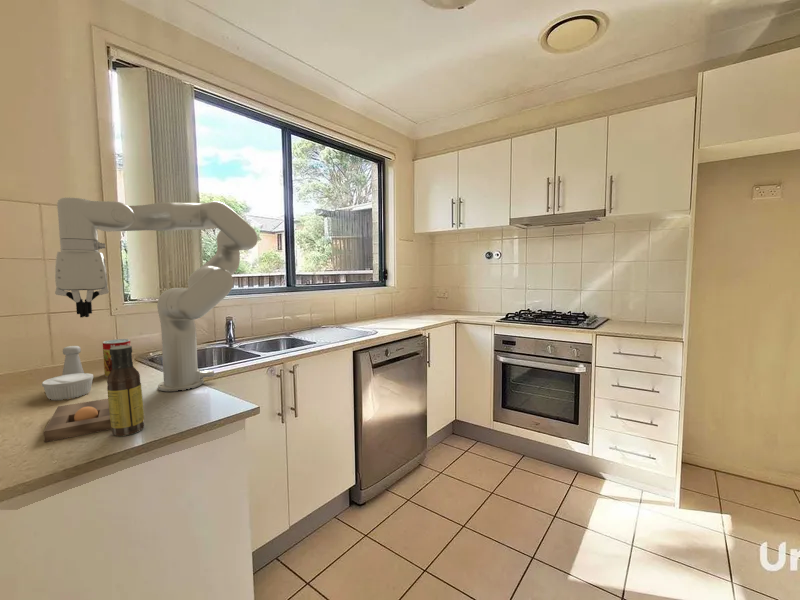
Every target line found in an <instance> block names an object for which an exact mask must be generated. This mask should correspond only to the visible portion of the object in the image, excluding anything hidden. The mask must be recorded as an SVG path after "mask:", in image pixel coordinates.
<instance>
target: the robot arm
mask: <svg viewBox="0 0 800 600" xmlns="http://www.w3.org/2000/svg"><path fill="white" fill-rule="evenodd" d="M56 203H57V204H56V206H57V208H56V209H57V219H58V220H57V221H58V235H59V245H60V251H57V253H56V256H55V257H56V258H55V268H54V273H55V275H54V279H55V281H54V282H55V287H56V288H55V291H54V294H55V295H56V296H62V297H67V298H69V299H71V300H72V301H74V303H75V307H76V308H75V309H76V315H79V317H80V318H89V317H90V314H91V315H92V314H93V305H92V304H93V303H92V301H94V300H95V299H96V298H97V297H99V296H102V295H106V294H109V293H110V290H109V288H108V273H107V267H106V260H105V258H104V257H105V256H104V254H103V252H100V250H101V249H102V250H103V249H106V243H104V242H103V243H102V242H100V241H99V235H98V230H99V231H102V232H107V233H108V232H136V231H137V232H138V231H139V232H140V231H158V232H160V231H161V232H163V231H164V232H165V231H167V232H168V231H191V230H194V231H195V230H211V229H212V230H213V229H218V230H219V232H218V233H217V236H216V245H217V248H216V249H217V250H216V253H215V254H214V255H213V256H212V257H211V258H210V259H208V261H206V262H204V263H203V265H201V266H200V267H199V268H197V269H196V270H194V271H193V272H192V273H191V274H190V275H189V277H188V279H187V287H188V288H187V287H186V288H185V287H172V288H169V289H166V290H164V291H163V292H162V293H161V294H160V295H159V297H158V299H157V304H156V305H157V312H158V313H157V314H158V317H159V321H160V329H161V331H160V332H161V349H162V350H161V352H162V356H161V357H162V371H163V372H162V373H163V381H162V382H160V383H158V385H157V388H158V390H159V391H162V392H179V391H178V390H182V391H187V390H186V389H188V390H191V389H190V388H192V389H196V388H198V387H201V386H202V385H204V383H205V382H204V378H210V377H215V371H214V370H207V369H206V370H202V371H201V370H200V369H199V368H198V366H199V365H198V345H197V327H196V323H195V320H199V319H200V318H202V317H204V316H206V315H207V314H208V313H209V312H210V311H211V310H212V309H214V308H215V307H216V306H217V305H218V304H219V303H220V302H221V301H223V300H224V299H225V298H226V297H227V296H228V295H229V293H230V292H231V290H232V289H233V287H234V280H233V279H234V278H233V275H234V273H236V271H237V270H238V268H239V266H240V257H241V256H240V253H241V251H249V250H251V249H253V248H254V247H256V245H257V244H258V239H259V238H258V233H257V232H256V230H255V228H254V227H253V226H252V225H251V224H250V223H248V222H247V221H246V220H245V219H244V218H243V217H242V216H240V215H239V214H238V213H237V212H236V211H234V209H232V208H231V207H230V206H228V205H227V204H225V203H224V202H221V201H217V200H214V201H208V202H173V201H171V202H170V201H165V202H154V203H149V204H141V205H127V204H125V203H123V202H120V201H114V200H113V201H112V200H111V201H109V200H108V201H107V200H106V201H104V200H102V201H101V200H91V199H90V200H89V199H86V198H80V197H78V198H77V197H61V198H59V199H58V200H57V202H56ZM80 291H86V298H85V299H82V297H81V293H80ZM83 300H84V301H83Z"/></svg>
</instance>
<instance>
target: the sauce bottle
mask: <svg viewBox="0 0 800 600" xmlns="http://www.w3.org/2000/svg"><path fill="white" fill-rule="evenodd" d="M132 353H133V346H132V345H131V346H117V347H113V348H110V355H111V359H112V370H111V372H110V374H109V375H108V377H107V378H106V382H107V383H106V384H107V388H106V391H107V399H108V402H109V412H110V421H111V427H112V429H111V434H112V435H113V436H116V437H126V435H127V436H130V435H134V434H137V433H138V432H140V431H142V430H143V429H144V427H145V422H144V420H145V414H144V413H145V411H144V404H143V402H144V401H143V392H142V391H143V390H142V388H143V387H142V383H141V375H140V372H139V371H138V370H137V368H136V367H135V366H134V362H133V356H132Z"/></svg>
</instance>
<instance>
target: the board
mask: <svg viewBox="0 0 800 600" xmlns="http://www.w3.org/2000/svg"><path fill="white" fill-rule="evenodd" d="M83 407H94V408H95V409H96V410H97V411H98V417H97V418H92V419H86V420H81V421H75V420H74V416H75V414H76V412H77V411H78V410H79V409H81V408H83ZM108 430H112V427H111V421H110V412H109V402H108V398H102V399H97V400H91V401H85V402H84V401H83V402H77V403H72V404H64V405H59V406H57V407H56V409H55V411H54V413H53V414H52V416H51V418H50V419H49V421H48V423H47V425H46V426H45V429H44V430H43V438H44V440H43V441H44V443H48V442H53V440H54V441H58V439H59V440H64V439H69V438H73V437H78V436H79V437H80V436H83V435H88V434H93V433H94V434H95V433H98V432H104V431H108ZM68 437H69V438H68ZM63 438H64V439H63Z"/></svg>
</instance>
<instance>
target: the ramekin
mask: <svg viewBox="0 0 800 600" xmlns="http://www.w3.org/2000/svg"><path fill="white" fill-rule="evenodd" d="M93 379H94V374H93V373H88V372H87V373H85V372H84V373H77V374H69V375H63V376H62V375H58V376H54V377H51V378H48V379H45V380H44V381H42V382H41V386H42V387H43V388H44V393H45V397H47V399H49V400H50V399H51V400H50V401H64V400H63V399H67V400H70V399H69V398H72V399H76V398H75V397H77V398H80V397H83V396H86V395H87V393H88V394H89V393H90V392H91V390H92V384H93ZM85 394H86V395H85ZM82 395H83V396H82ZM79 396H80V397H79Z"/></svg>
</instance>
